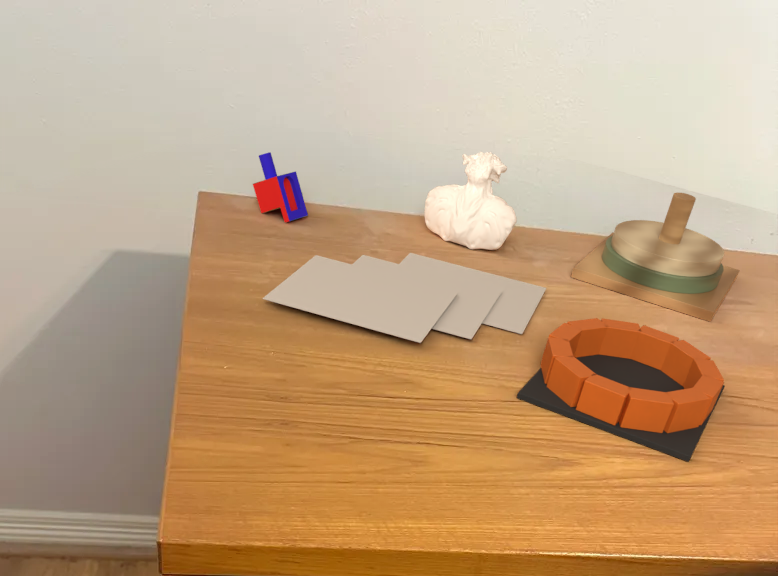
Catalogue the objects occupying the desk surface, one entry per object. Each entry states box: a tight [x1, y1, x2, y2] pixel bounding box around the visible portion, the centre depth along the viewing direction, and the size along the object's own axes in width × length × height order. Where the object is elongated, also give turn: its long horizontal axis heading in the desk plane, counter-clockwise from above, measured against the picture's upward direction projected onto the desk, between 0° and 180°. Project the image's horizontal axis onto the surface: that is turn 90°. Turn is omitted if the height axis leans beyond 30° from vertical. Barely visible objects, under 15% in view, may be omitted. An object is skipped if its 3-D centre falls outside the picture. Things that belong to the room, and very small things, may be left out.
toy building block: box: [252, 152, 309, 223], centre depth 105 cm, size 4×4×8 cm
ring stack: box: [570, 192, 740, 323], centre depth 104 cm, size 17×17×10 cm
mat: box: [516, 354, 726, 463], centre depth 81 cm, size 16×16×1 cm
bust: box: [423, 151, 518, 251], centre depth 106 cm, size 12×8×11 cm
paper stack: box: [261, 252, 547, 344], centre depth 92 cm, size 23×25×1 cm
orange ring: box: [540, 317, 725, 433], centre depth 81 cm, size 16×16×3 cm
